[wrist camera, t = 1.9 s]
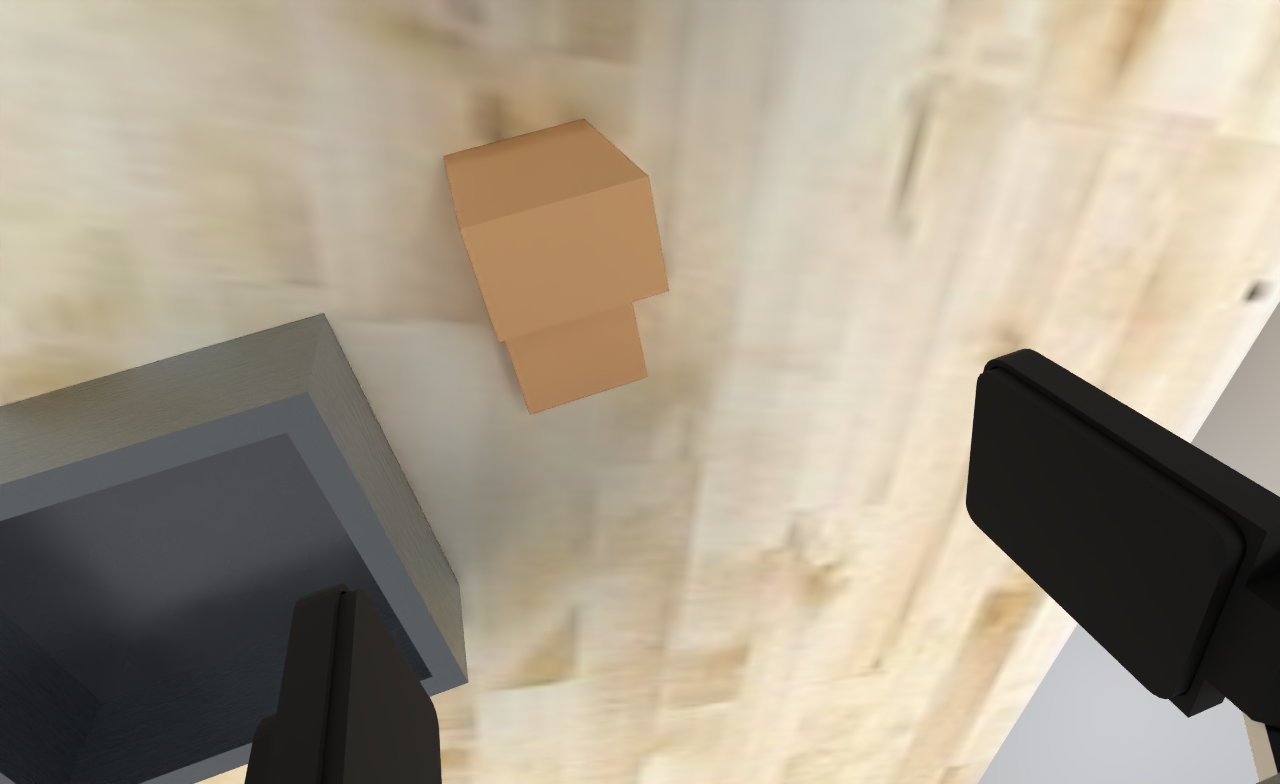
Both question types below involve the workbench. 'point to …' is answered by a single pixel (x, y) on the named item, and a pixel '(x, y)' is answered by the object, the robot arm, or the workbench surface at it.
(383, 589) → the well box
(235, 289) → the workbench surface
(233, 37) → the workbench surface
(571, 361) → the tan stepped block
